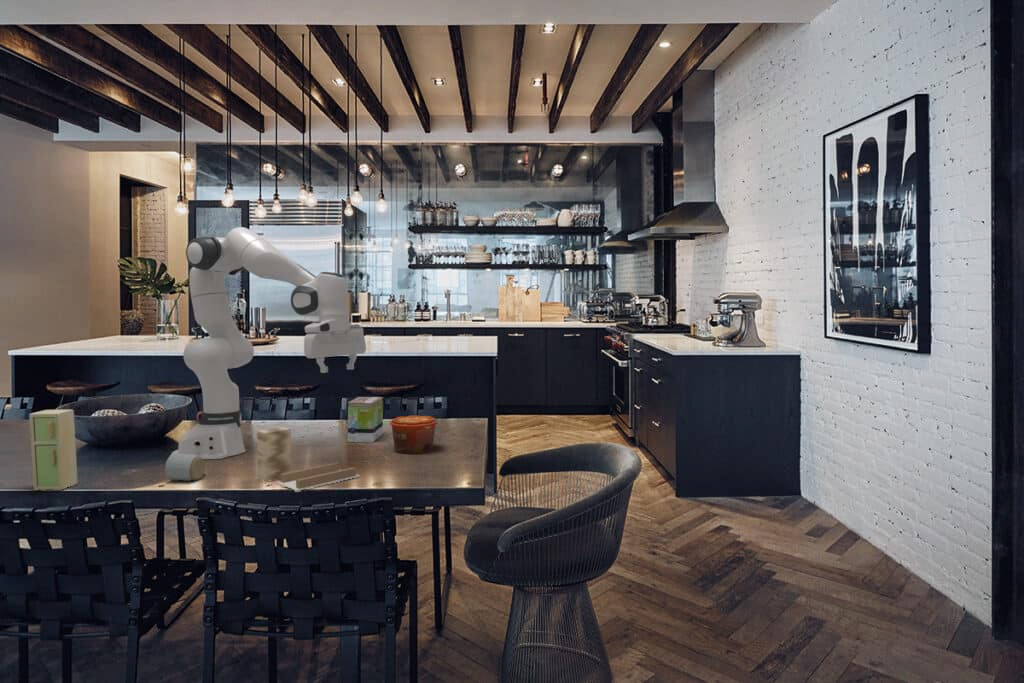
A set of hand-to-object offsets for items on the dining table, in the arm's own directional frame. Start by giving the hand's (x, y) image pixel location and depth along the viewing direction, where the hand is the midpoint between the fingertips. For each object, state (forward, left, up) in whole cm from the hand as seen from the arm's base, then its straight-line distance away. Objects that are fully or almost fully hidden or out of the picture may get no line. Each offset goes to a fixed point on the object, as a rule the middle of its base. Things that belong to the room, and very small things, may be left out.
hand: (337, 371), depth 200 cm
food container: (+26, +18, -30) cm, 43 cm away
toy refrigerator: (-75, +1, -30) cm, 81 cm away
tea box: (+12, +42, -30) cm, 53 cm away
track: (-6, -13, -30) cm, 33 cm away
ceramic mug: (-42, 0, -30) cm, 52 cm away
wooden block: (-18, -6, -30) cm, 36 cm away
